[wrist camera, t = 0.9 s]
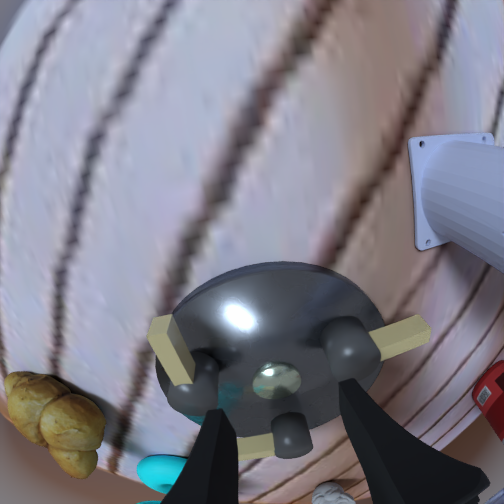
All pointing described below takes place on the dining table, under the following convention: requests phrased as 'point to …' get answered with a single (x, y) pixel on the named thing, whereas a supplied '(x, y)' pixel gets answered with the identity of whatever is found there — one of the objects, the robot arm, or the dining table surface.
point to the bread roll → (56, 420)
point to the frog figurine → (331, 494)
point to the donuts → (160, 473)
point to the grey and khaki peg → (184, 369)
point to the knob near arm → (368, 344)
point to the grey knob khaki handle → (279, 439)
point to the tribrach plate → (271, 340)
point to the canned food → (492, 397)
